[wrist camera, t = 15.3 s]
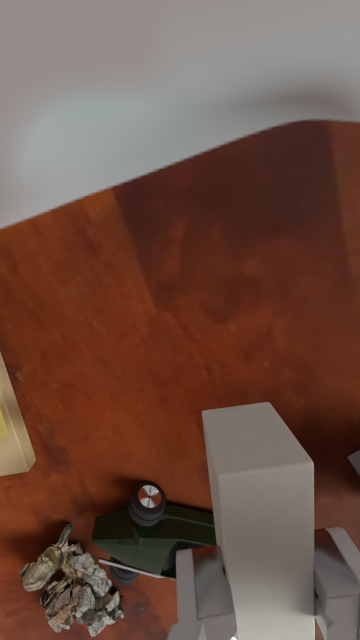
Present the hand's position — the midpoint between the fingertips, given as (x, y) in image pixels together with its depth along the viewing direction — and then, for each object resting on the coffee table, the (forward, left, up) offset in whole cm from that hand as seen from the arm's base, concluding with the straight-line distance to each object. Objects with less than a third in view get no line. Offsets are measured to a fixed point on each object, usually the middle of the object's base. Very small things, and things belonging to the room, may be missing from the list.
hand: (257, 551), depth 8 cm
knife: (+6, 0, -1) cm, 6 cm away
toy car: (+19, -4, -16) cm, 25 cm away
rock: (+24, -16, -16) cm, 33 cm away
